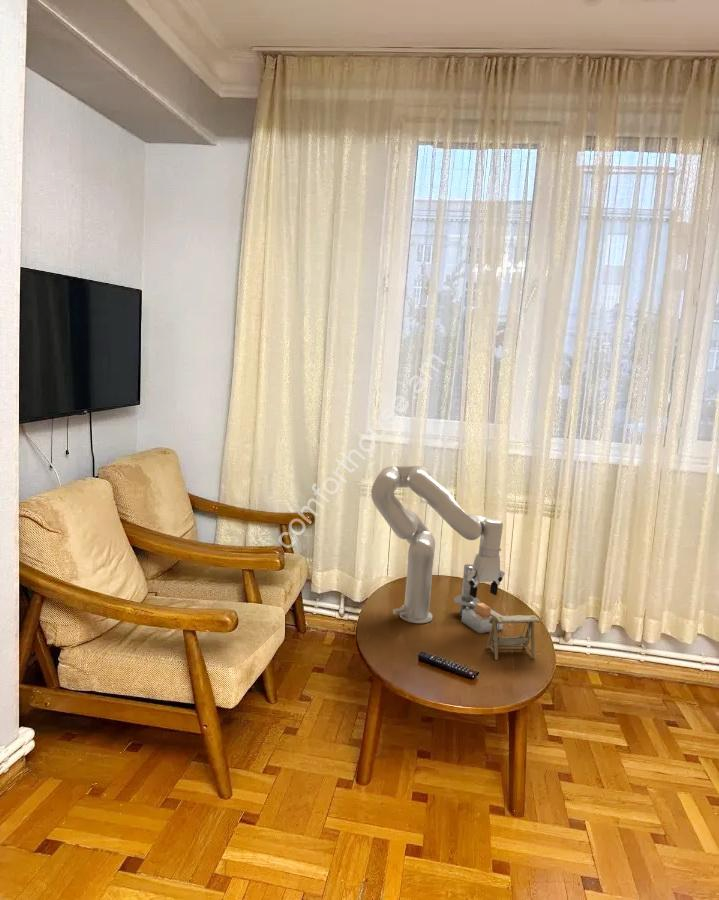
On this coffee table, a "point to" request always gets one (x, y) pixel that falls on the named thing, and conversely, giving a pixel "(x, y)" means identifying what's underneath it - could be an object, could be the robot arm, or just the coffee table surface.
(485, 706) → the coffee table surface
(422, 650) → the coffee table surface
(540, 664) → the coffee table surface
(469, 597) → the bracket head
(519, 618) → the swing bench
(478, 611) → the orange rectangular block
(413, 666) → the coffee table surface
